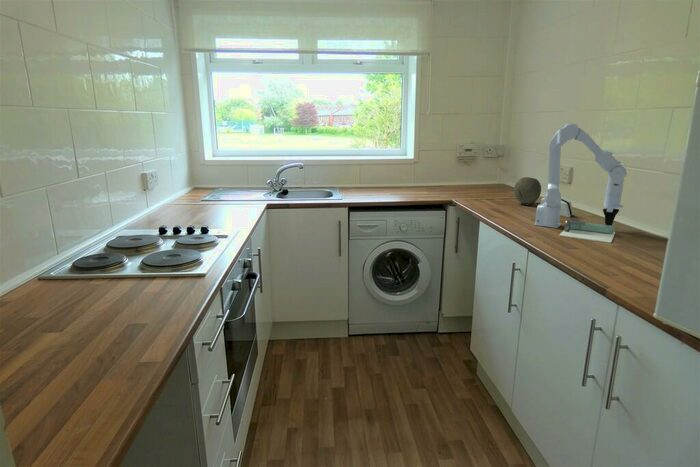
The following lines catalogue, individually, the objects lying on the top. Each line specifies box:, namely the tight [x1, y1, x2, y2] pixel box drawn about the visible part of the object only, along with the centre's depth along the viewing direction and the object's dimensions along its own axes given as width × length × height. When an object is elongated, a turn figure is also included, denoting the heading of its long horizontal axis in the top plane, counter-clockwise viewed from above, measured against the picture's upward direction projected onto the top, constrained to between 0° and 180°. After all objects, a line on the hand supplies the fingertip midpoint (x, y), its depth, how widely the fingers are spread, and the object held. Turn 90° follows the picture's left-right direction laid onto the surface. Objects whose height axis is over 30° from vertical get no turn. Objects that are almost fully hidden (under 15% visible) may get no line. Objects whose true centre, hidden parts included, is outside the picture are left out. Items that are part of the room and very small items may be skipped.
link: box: [570, 222, 615, 233], centre depth 177 cm, size 17×5×2 cm, turn 54°
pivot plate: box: [559, 217, 616, 244], centre depth 172 cm, size 18×18×5 cm
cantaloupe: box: [513, 176, 542, 206], centre depth 234 cm, size 14×14×15 cm
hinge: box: [539, 196, 576, 218], centre depth 211 cm, size 17×5×10 cm, turn 26°
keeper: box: [563, 220, 586, 232], centre depth 175 cm, size 7×2×4 cm, turn 67°
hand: (608, 226), depth 179 cm, fingers closed
